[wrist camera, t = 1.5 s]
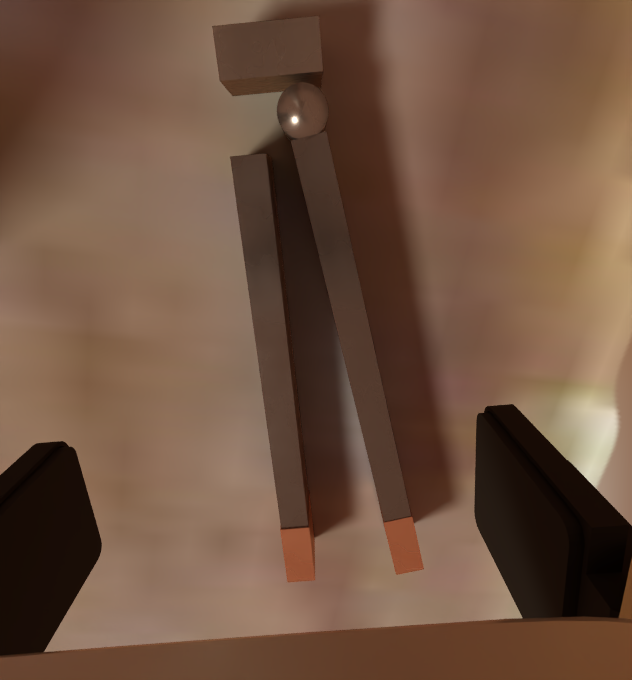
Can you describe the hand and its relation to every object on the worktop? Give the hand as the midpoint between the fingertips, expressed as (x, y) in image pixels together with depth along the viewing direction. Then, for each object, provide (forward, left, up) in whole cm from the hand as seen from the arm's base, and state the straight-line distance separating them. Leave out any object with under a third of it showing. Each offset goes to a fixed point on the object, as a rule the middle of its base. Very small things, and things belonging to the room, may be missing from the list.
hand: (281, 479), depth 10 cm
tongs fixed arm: (+2, 0, -16) cm, 16 cm away
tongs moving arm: (+3, +3, -16) cm, 17 cm away
